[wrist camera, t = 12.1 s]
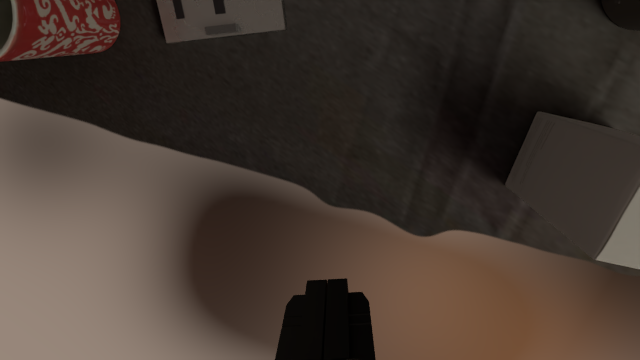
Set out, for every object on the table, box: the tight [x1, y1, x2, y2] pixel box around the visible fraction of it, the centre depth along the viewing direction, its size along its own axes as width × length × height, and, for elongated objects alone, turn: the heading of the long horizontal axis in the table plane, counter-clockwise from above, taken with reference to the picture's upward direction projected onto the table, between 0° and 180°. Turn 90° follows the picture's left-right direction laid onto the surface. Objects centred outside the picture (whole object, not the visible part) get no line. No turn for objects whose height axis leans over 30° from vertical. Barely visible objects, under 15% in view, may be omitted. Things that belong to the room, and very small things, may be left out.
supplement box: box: [505, 112, 640, 269], centre depth 31 cm, size 9×9×15 cm
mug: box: [0, 0, 120, 62], centre depth 29 cm, size 13×9×14 cm
